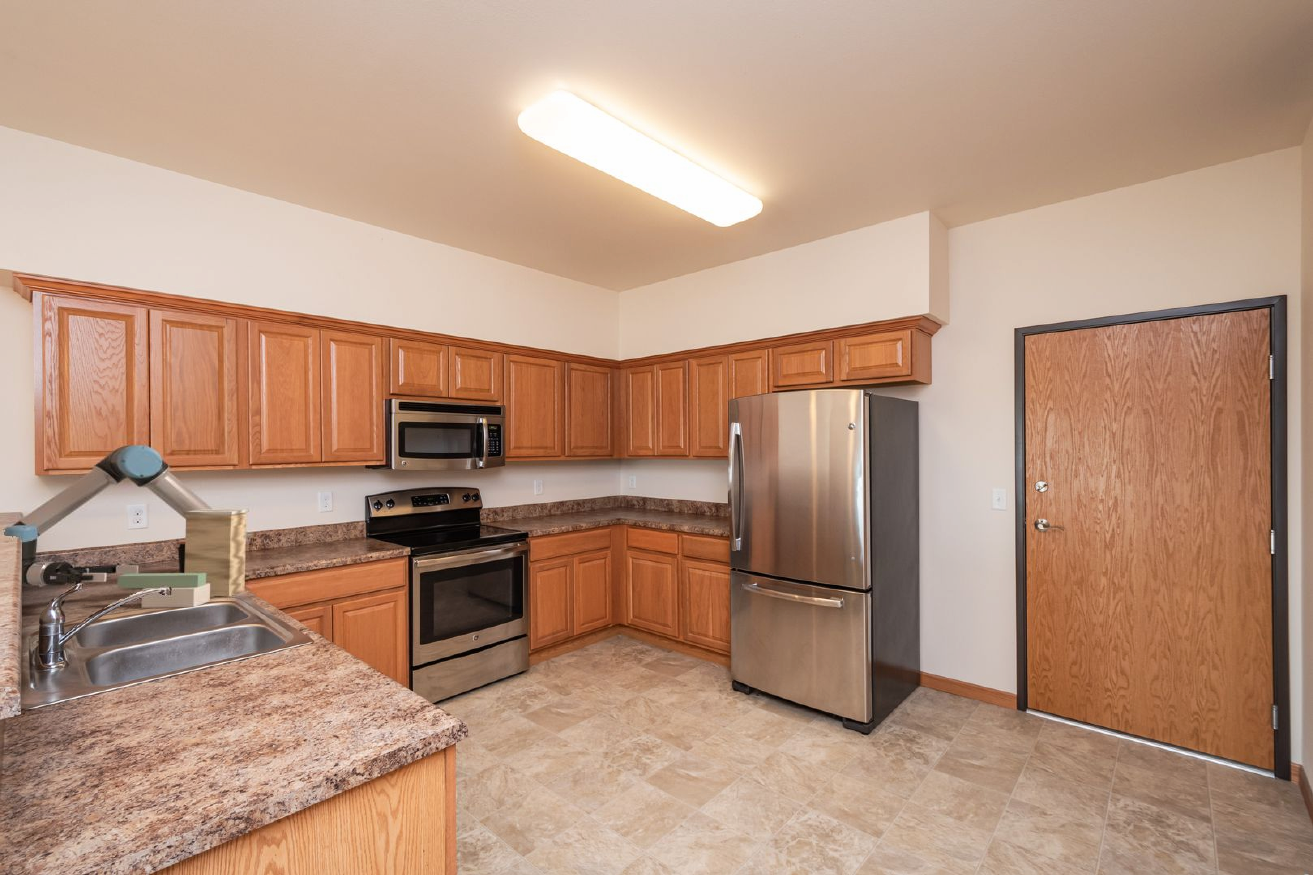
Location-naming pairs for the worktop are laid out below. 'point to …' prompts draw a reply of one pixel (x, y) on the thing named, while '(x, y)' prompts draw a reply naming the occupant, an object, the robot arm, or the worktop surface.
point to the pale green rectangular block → (161, 580)
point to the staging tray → (178, 597)
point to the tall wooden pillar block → (217, 548)
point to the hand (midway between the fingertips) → (122, 573)
